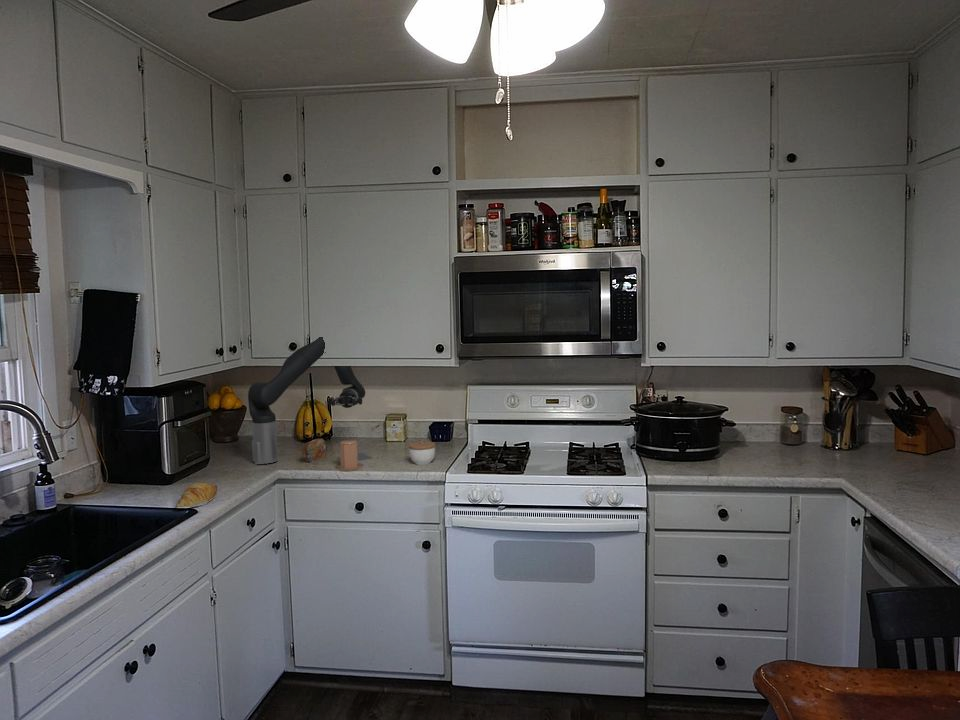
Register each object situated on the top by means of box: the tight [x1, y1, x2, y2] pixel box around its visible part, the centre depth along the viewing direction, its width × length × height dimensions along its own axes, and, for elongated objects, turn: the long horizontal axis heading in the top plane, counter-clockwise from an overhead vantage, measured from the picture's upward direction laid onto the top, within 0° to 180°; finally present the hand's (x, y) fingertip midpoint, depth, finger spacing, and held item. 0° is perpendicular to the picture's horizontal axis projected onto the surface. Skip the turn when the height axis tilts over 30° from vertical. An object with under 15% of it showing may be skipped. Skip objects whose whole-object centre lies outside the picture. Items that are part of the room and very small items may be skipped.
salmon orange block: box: [339, 439, 359, 468], centre depth 272 cm, size 6×6×10 cm
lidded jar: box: [408, 439, 436, 466], centre depth 277 cm, size 11×11×9 cm
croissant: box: [176, 481, 218, 507], centre depth 231 cm, size 21×10×8 cm, turn 170°
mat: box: [335, 452, 374, 462], centre depth 287 cm, size 12×12×1 cm
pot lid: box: [334, 462, 364, 472], centre depth 272 cm, size 11×11×3 cm
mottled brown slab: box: [302, 438, 328, 463], centre depth 287 cm, size 15×3×8 cm, turn 161°
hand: (343, 403), depth 288 cm, fingers open, 8 cm apart
